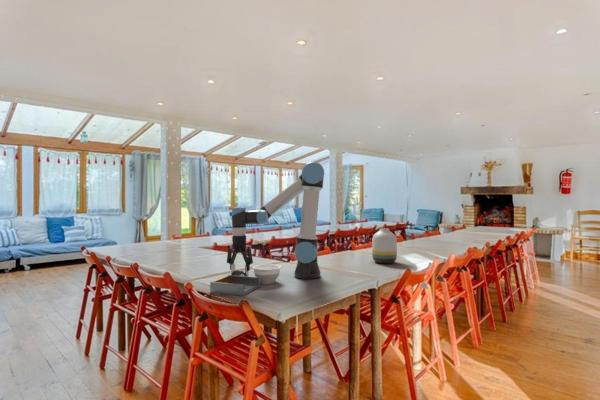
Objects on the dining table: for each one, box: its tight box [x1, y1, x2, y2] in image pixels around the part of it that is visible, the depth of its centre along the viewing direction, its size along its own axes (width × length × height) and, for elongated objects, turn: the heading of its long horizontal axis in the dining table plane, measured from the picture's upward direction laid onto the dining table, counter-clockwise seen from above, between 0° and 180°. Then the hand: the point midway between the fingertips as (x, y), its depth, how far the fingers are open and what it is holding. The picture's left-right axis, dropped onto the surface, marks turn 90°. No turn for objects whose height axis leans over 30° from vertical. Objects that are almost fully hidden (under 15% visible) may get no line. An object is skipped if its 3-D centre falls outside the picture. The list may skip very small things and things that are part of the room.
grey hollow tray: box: [209, 274, 261, 297], centre depth 172 cm, size 18×17×5 cm
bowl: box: [251, 263, 282, 285], centre depth 187 cm, size 16×16×8 cm
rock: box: [230, 269, 247, 276], centre depth 187 cm, size 11×8×10 cm
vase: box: [371, 227, 398, 265], centre depth 245 cm, size 17×17×24 cm
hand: (240, 276), depth 191 cm, fingers closed on rock, 8 cm apart
